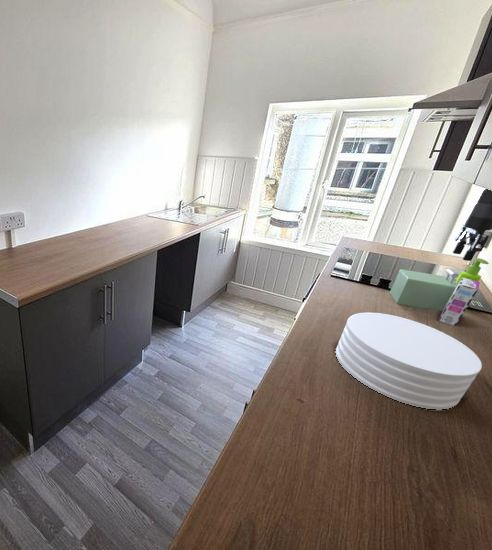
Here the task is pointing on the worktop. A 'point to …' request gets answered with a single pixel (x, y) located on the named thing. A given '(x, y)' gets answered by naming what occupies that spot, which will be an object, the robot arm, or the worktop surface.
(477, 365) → the plate stack
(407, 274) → the lid
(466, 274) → the soap dispenser
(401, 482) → the worktop surface
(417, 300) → the chest
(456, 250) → the robot arm
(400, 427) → the worktop surface
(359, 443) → the worktop surface
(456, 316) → the candy bar box
